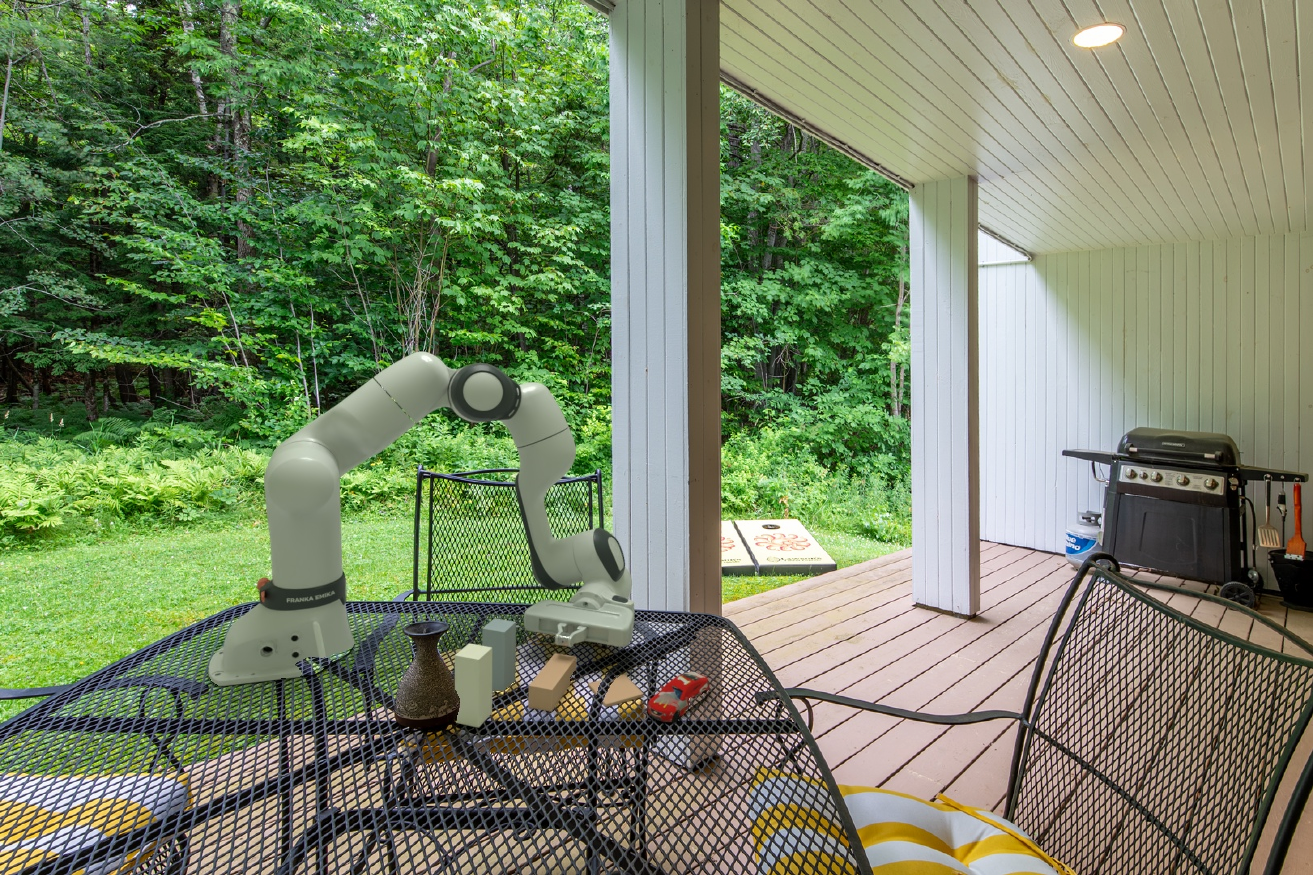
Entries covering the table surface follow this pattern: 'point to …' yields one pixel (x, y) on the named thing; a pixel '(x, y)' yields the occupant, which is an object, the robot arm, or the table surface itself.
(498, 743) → the table surface
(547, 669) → the tan rectangular block
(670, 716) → the race car
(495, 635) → the slate post
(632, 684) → the tile
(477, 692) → the cream post
